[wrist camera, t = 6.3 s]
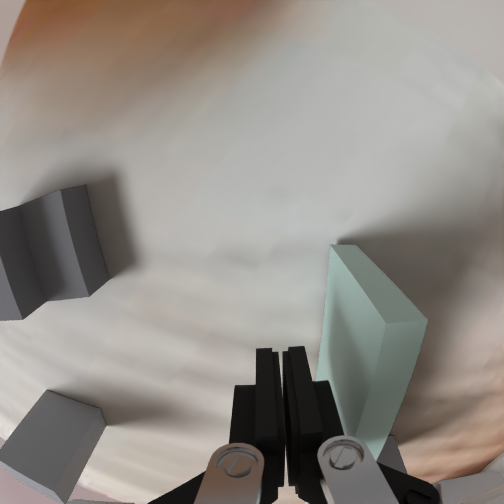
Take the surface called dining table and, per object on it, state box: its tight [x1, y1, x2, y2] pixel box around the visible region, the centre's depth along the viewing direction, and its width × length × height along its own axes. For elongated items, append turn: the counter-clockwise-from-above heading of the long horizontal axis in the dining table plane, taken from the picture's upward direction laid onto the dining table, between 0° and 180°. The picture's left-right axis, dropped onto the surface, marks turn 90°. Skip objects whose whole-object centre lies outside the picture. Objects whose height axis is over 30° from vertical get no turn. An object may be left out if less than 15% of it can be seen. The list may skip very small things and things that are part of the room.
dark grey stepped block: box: [0, 185, 110, 321], centre depth 12 cm, size 6×5×4 cm
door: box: [305, 245, 428, 504], centre depth 12 cm, size 15×1×7 cm, turn 0°
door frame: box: [0, 390, 407, 504], centre depth 14 cm, size 26×2×8 cm, turn 85°
